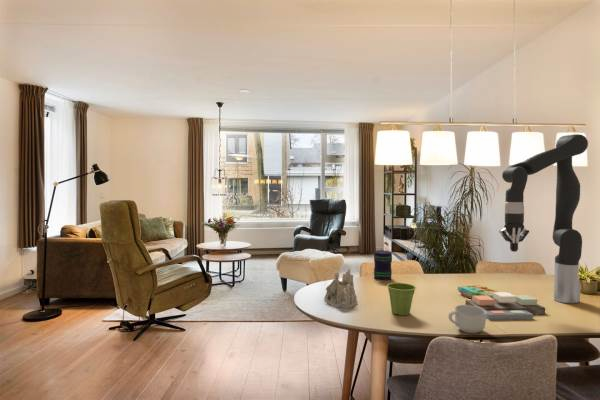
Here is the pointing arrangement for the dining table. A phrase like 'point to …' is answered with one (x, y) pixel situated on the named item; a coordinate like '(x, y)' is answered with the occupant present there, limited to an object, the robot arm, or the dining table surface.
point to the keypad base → (509, 307)
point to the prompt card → (508, 315)
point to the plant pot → (401, 297)
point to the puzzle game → (476, 291)
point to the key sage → (525, 300)
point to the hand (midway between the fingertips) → (513, 251)
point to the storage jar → (382, 265)
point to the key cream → (504, 297)
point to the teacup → (469, 318)
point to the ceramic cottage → (341, 292)
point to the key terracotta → (483, 300)
